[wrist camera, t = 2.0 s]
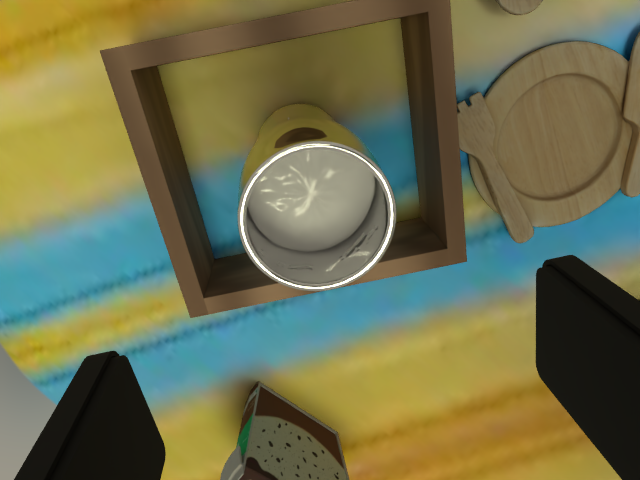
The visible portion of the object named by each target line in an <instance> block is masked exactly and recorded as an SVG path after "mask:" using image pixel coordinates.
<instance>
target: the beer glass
mask: <svg viewBox="0 0 640 480" xmlns="http://www.w3.org/2000/svg"><path fill="white" fill-rule="evenodd" d="M395 224H396V203H395V198H394V194H393V191H392V188H391V186H390V183H389V181H388V180H387V178H386V176H385V175H384V173H383V171H382V169H381V167H380V166H379V164H378V162H377V160H376V158H375V157H374V155H373V154H372V153H371V151H370V150H369V148H368V147H367V146H366V145H365V143H364V142H363V141H362V140H361V139H360V138H359V137H357V136H356V135H355V134H354V133H353V132H351V131H350V130H349V129H347V128H346V127H344V126H343V125H341V124H339V123H337V122H335V121H334V119H333V118H332V117H331V116H330V115H329V114H328V113H326V112H325V111H324V110H322V109H320V108H318V107H316V106H313V105H309V104H291V105H287V106H284V107H282V108H280V109H278V110H277V111H275V112H274V113H273V114H271V115H270V116H269V117H268V118H267V119H266V121H265V122H264V123H263V125H262V127H261V129H260V131H259V134H258V138H257V142H256V143H255V144H254V146H253V147H252V149H251V151H250V152H249V154H248V156H247V159H246V161H245V164H244V166H243V169H242V172H241V177H240V183H239V191H238V229H239V234H240V238H241V241H242V244H243V246H244V248H245V250H246V252H247V254H248V256H249V257H250V259H251V260H252V261H253V263H254V264H255V265H256V266H257V267H258V268H259V269H260V270H261V271H262V272H263V273H264V274H265V275H267V276H268V277H270V278H271V279H273V280H274V281H276V282H278V283H280V284H282V285H285V286H288V287H291V288H294V289H299V290H305V291H325V290H331V289H335V288H339V287H342V286H345V285H347V284H350V283H352V282H354V281H356V280H357V279H359V278H361V277H362V276H364V275H365V274H366V273H367V272H369V271H370V270H371V269H372V268H373V267H374V266H375V265H376V264H377V263H378V262H379V260H380V259H381V258H382V257H383V255H384V254H385V252H386V250H387V248H388V247H389V244H390V242H391V240H392V237H393V234H394V230H395Z"/></svg>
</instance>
